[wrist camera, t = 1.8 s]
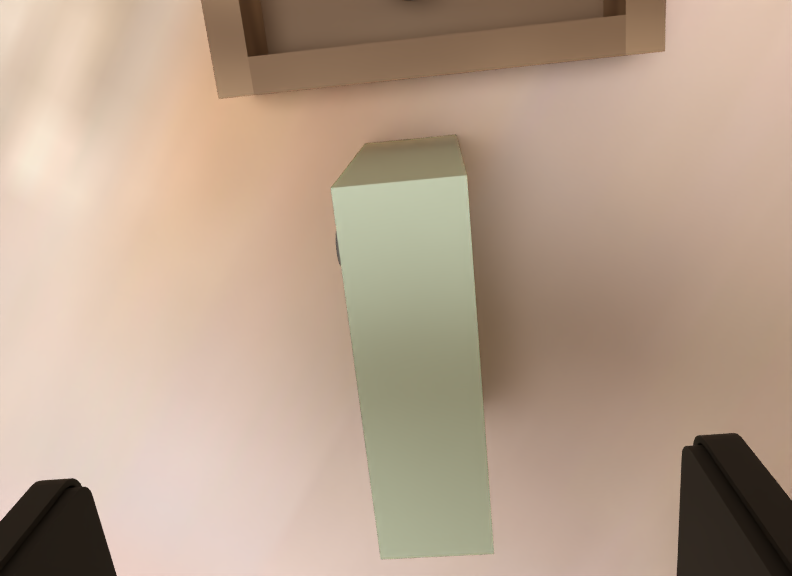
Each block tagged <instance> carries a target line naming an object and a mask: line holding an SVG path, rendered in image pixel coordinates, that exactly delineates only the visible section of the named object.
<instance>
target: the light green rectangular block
mask: <svg viewBox="0 0 792 576" xmlns="http://www.w3.org/2000/svg"><path fill="white" fill-rule="evenodd" d="M331 194H332V202H333V209H334V216H335V224H336V249H337V256H338V261H339V264H340V265H341V268H342V276H343V283H344V291H345V298H346V305H347V313H348V320H349V328H350V335H351V343H352V350H353V357H354V365H355V372H356V380H357V387H358V394H359V402H360V409H361V417H362V424H363V432H364V439H365V446H366V454H367V461H368V469H369V476H370V483H371V491H372V498H373V506H374V513H375V520H376V528H377V535H378V543H379V550H380V558H381V559H399V558H420V557H441V556H461V555H482V554H494V548H493V534H492V520H491V506H490V492H489V478H488V464H487V450H486V436H485V422H484V408H483V393H482V379H481V365H480V351H479V337H478V323H477V309H476V295H475V281H474V267H473V253H472V239H471V225H470V211H469V197H468V183H467V174H466V170H465V166H464V162H463V158H462V155H461V151H460V147H459V143H458V140H457V136H456V135H446V136H436V137H426V138H416V139H406V140H396V141H386V142H376V143H366V144H364V146H363V147H362V148H361V150H360V151H359V152H358V153H357V155H356V156H355V157H354V159H353V160H352V161H351V162H350V164H349V165H348V166H347V168H346V169H345V170H344V172H343V173H342V174H341V175H340V177H339V178H338V179H337V181H336V182H335V183H334V184H333V186H332V187H331Z"/></svg>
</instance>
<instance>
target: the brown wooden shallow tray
mask: <svg viewBox="0 0 792 576" xmlns="http://www.w3.org/2000/svg"><path fill="white" fill-rule="evenodd" d="M201 3H202V8H203V14H204V20H205V25H206V31H207V36H208V42H209V47H210V53H211V59H212V64H213V70H214V75H215V81H216V86H217V92H218V98H219V99H223V98H232V97H242V96H251V95H260V94H270V93H279V92H288V91H298V90H307V89H316V88H326V87H335V86H344V85H354V84H363V83H372V82H382V81H391V80H400V79H410V78H419V77H429V76H438V75H447V74H457V73H466V72H475V71H485V70H494V69H503V68H513V67H522V66H531V65H541V64H550V63H559V62H569V61H578V60H587V59H597V58H606V57H616V56H625V55H634V54H644V53H653V52H662V51H665V16H666V0H201Z"/></svg>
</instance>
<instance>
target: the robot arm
mask: <svg viewBox="0 0 792 576" xmlns="http://www.w3.org/2000/svg"><path fill="white" fill-rule="evenodd" d="M0 576H117V575H116V572H115V568H114V565H113V562H112V558H111V555H110V552H109V549H108V545H107V542H106V539H105V535H104V532H103V529H102V525H101V522H100V519H99V516H98V512H97V509H96V506H95V502H94V499H93V496H92V493H91V491H90V490H89V489H88V488H87V487H82V486H81V484H80V483H79V481H78V480H76V479H73V478H71V479H57V480H42V481H38V482H36V483H34V484H33V485H32V486H31V487H30V488H29V489H28V490H27V492H26V493H25V494H24V495H23V496H22V497H21V498H20V500H19V501H18V502H17V503H16V504H15V505H14V506H13V508H12V509H11V510H10V511H9V512H8V513H7V514H6V516H5V517H4V518H3V519H2V520H1V521H0ZM677 576H792V500H791V499H790V498H789V497H788V495H787V494H786V493H785V492H784V490H783V489H782V488H781V486H780V485H779V484H778V483H777V481H776V480H775V479H774V478H773V476H772V475H771V474H770V473H769V471H768V470H767V469H766V468H765V466H764V465H763V464H762V463H761V461H760V460H759V459H758V458H757V456H756V455H755V454H754V453H753V451H752V450H751V449H750V447H749V446H748V445H747V444H746V442H745V441H744V440H743V439H742V437H740V436H739V435H738V434H736V433H728V434H714V435H699V436H697V437H695V440H694V443H693V446H685V447H684V448H683V451H682V463H681V488H680V512H679V536H678V560H677Z"/></svg>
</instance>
